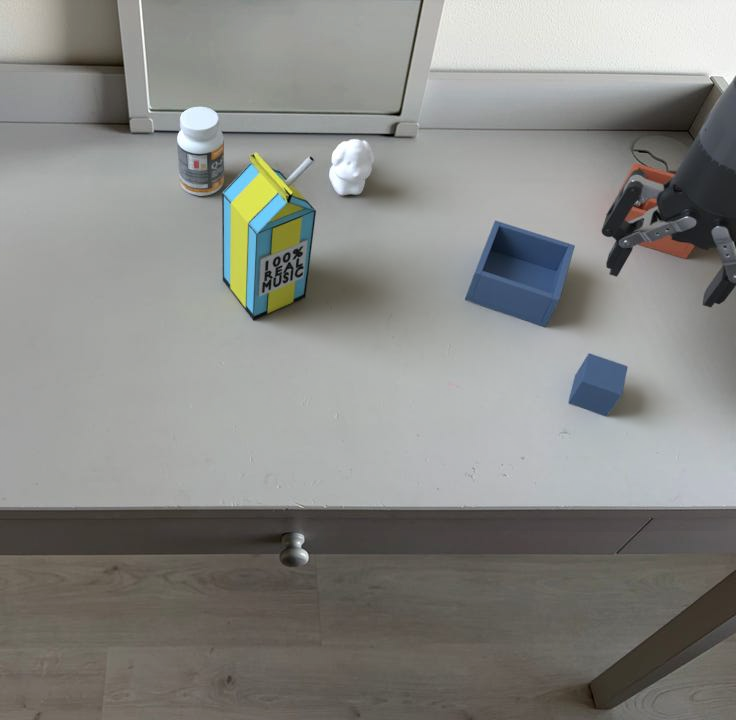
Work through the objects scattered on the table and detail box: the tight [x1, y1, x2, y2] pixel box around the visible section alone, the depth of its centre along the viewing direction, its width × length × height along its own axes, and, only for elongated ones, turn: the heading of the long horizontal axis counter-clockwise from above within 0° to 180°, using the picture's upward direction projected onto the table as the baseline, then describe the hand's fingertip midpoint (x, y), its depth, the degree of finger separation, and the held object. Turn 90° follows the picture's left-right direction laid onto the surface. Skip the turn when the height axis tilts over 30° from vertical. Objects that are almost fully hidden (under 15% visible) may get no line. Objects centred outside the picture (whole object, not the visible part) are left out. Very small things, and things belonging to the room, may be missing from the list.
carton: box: [221, 151, 317, 321], centre depth 83 cm, size 7×8×18 cm
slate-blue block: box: [568, 353, 628, 417], centre depth 81 cm, size 4×4×4 cm
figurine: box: [328, 138, 375, 196], centre depth 98 cm, size 5×8×8 cm
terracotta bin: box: [618, 162, 695, 260], centre depth 97 cm, size 9×9×5 cm
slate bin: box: [464, 220, 576, 328], centre depth 90 cm, size 9×9×5 cm
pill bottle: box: [176, 106, 225, 197], centre depth 97 cm, size 6×6×10 cm
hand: (660, 285), depth 73 cm, fingers open, 8 cm apart
